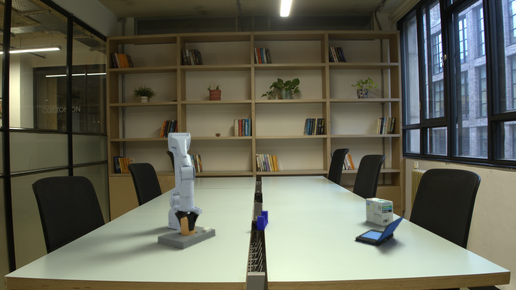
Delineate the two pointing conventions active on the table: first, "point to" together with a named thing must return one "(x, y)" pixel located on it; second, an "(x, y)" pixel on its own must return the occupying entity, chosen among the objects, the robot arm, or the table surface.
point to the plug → (185, 227)
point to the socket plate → (186, 237)
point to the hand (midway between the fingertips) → (187, 229)
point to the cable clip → (262, 220)
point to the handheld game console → (379, 234)
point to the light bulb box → (379, 211)
